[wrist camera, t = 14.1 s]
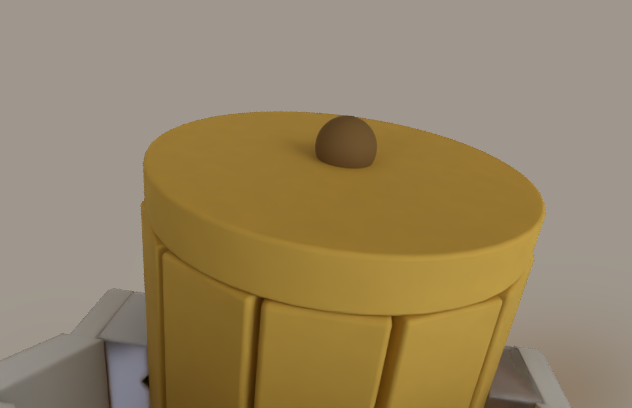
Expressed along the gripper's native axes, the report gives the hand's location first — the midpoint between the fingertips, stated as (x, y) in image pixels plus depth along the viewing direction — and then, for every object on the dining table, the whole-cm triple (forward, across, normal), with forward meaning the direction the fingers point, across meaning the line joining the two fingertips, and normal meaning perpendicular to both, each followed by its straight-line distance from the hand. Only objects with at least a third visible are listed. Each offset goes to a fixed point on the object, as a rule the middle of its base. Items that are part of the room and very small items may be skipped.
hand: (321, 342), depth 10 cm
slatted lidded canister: (+1, 0, -6) cm, 6 cm away
